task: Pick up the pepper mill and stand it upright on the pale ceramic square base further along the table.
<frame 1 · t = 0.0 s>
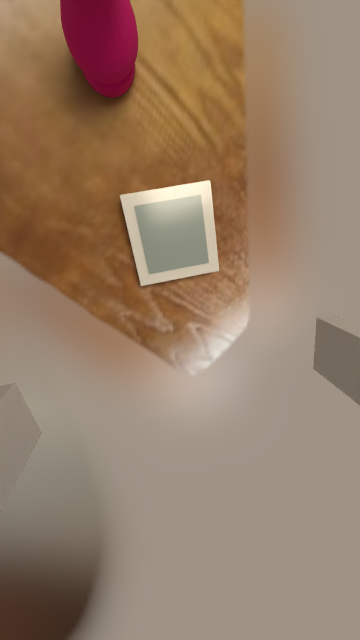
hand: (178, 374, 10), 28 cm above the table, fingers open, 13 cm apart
base: (171, 236, 34), on the table
pepper mill: (108, 65, 27), on the table
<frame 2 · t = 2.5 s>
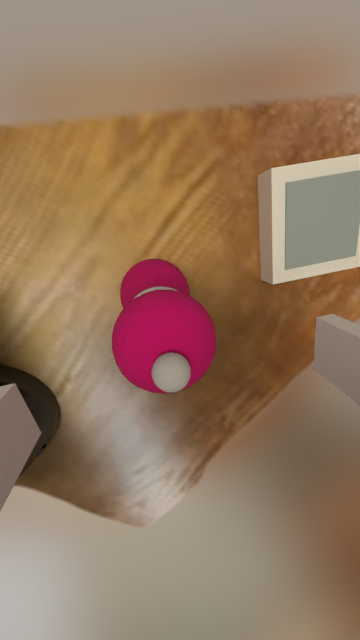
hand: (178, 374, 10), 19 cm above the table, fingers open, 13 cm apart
base: (304, 223, 28), on the table
pepper mill: (153, 285, 28), on the table
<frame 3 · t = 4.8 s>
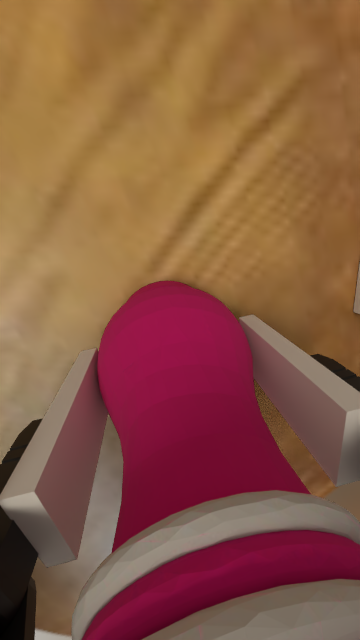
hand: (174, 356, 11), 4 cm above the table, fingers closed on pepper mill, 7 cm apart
pepper mill: (166, 325, 15), on the table, touching gripper
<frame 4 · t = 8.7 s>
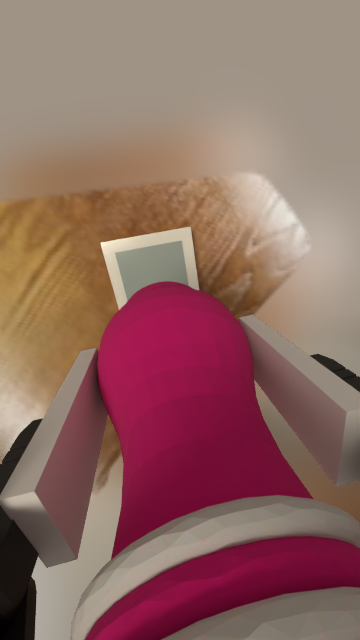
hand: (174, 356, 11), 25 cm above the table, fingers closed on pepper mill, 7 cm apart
base: (154, 275, 35), on the table
pepper mill: (166, 325, 15), point 21 cm above the table, touching gripper
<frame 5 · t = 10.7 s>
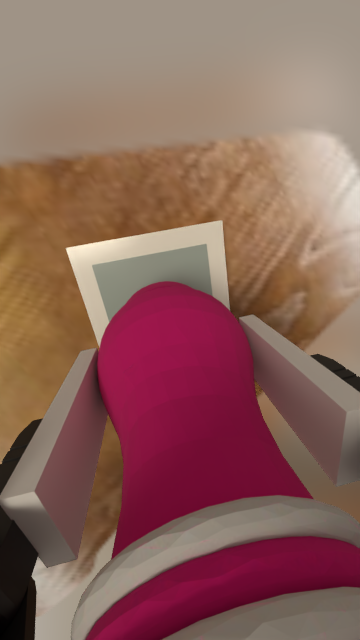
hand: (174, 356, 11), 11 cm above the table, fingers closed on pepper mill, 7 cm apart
base: (159, 298, 22), on the table
pepper mill: (166, 325, 15), point 7 cm above the table, touching gripper
when the fingers open (8 cm above the table, at t = 12.4 s): pepper mill stays where it is, resting on base.
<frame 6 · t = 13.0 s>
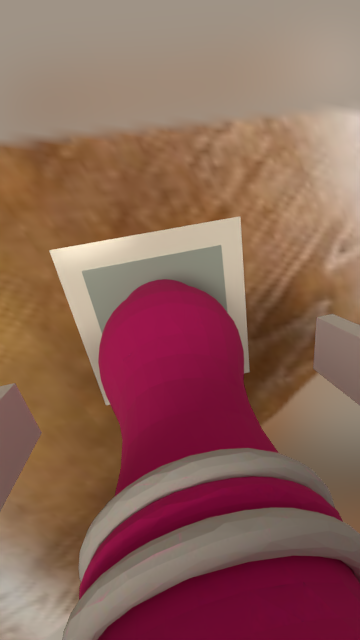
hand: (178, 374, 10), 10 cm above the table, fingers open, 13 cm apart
base: (162, 308, 19), on the table
pepper mill: (164, 321, 16), point 3 cm above the table, touching base
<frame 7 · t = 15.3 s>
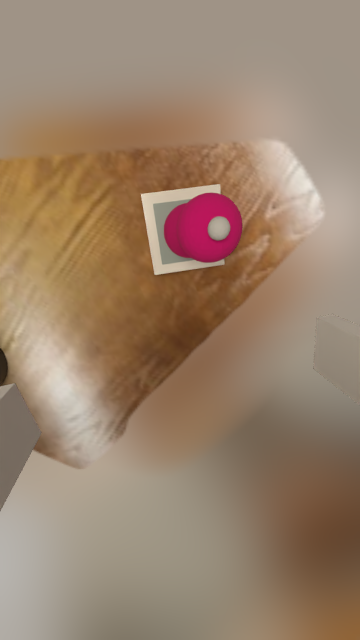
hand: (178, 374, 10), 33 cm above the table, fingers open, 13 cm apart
base: (183, 232, 39), on the table
pepper mill: (185, 231, 36), point 3 cm above the table, touching base
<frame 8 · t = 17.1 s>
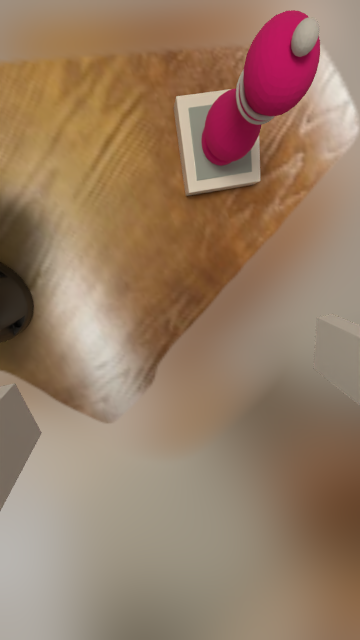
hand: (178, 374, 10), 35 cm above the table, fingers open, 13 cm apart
base: (215, 149, 37), on the table
pepper mill: (220, 142, 34), point 3 cm above the table, touching base
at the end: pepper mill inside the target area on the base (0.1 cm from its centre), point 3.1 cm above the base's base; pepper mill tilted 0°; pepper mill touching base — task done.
